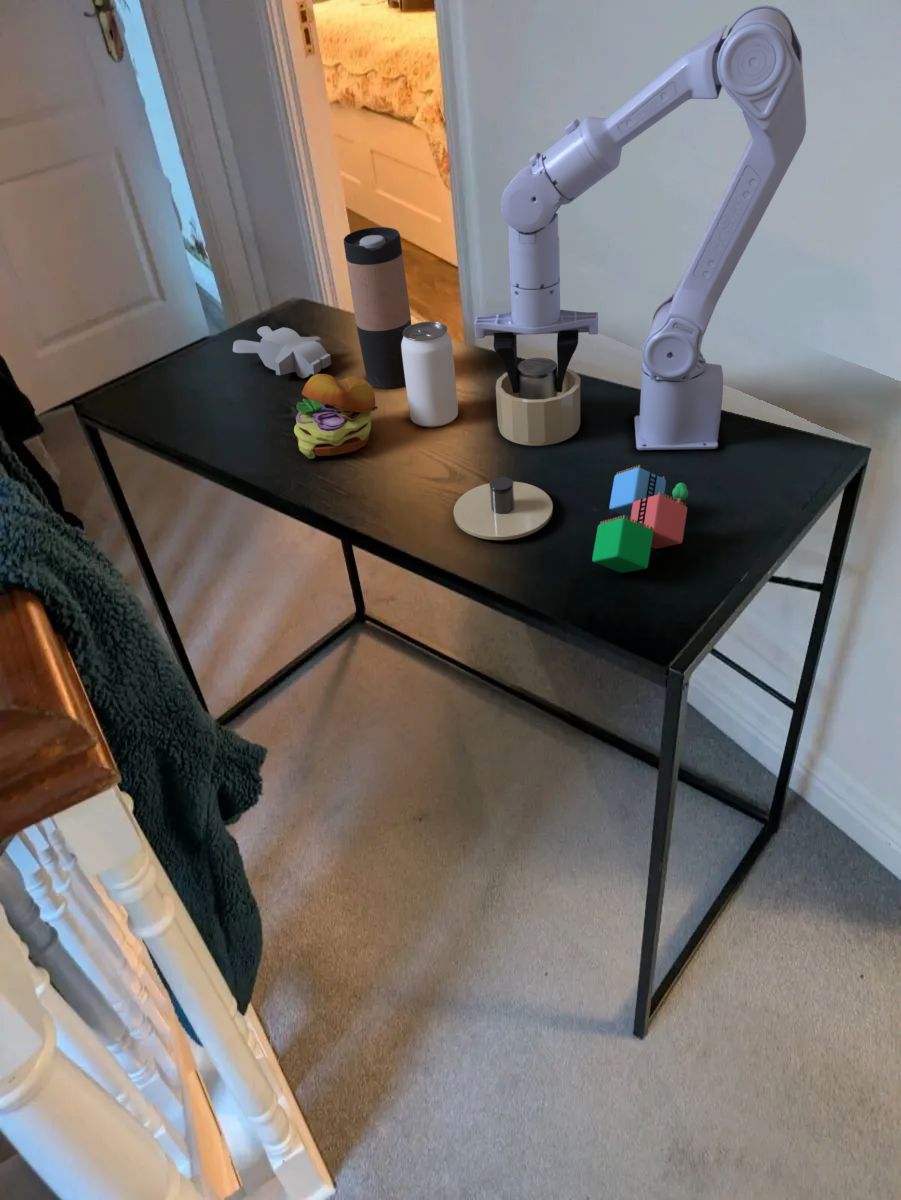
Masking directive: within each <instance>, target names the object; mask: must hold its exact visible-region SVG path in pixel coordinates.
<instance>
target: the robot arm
mask: <svg viewBox="0 0 901 1200" xmlns="http://www.w3.org/2000/svg"><path fill="white" fill-rule="evenodd" d="M727 27H728V24H726V25H724V26H721V28H719V29H717V30H715V31H714V32H712V33H710V34H709V35H708V36H706V37H705V38H703V39H702V40H701V41H698V42H697V43H696V44H695V45H693V46H691V47H690V48H689V49H687V50H686V51H684V52H683V53H682V54H681V55H679V56H678V58H676V59H675V60H674V61H673V62H672V63H671V64H669V65H668V66H666V68H665V69H663V71H661V72H660V73H659V74H657V75H656V76H655V77H654V78H653V79H652V80H650V81H649V82H648V83H647V84H645V86H643V88H641V89H640V90H639V91H638V92H636V93H635V94H634V95H633V96H632V97H631V98H630V99H628V100H627V101H626V102H625V103H624V104H622V105H621V106H620V107H619V108H618V109H617V110H616V111H614V112H612V114H611V115H609V116H608V117H596V116H587V117H585V118H584V119H583V120H582V121H581V122H580V121H579V120H578V118H574V120H572V121H571V122H569V124H567V125H566V127H565V128H564V132H565V134H564V135H563V137H561V138H560V139H559V140H557V141H556V142H555V143H554V144H553V145H551V146H550V147H548V149H547V150H545V151H544V152H543V153H540V152H538V151H537V152H536V153H534V154H533V155H532V156H531V157H530V158H529V160H528V161H529V163H530V164H528V165H526V166H524V167H523V168H521V169H520V170H519V171H518V172H517V174H515V176H513V178H512V179H511V180H510V182H509V183H508V184H507V185H506V186H505V188H504V190H503V192H502V195H501V198H500V210H501V214H502V217H503V219H504V220H505V222H506V224H507V225H508V242H507V244H508V265H509V266H508V268H509V284H510V309H511V311H509V312H508V311H507V312H503V313H497V314H492V315H484V316H483V315H482V316H475V320H474V335H475V336H474V337H475V339H484V338H485V337H492V336H493V349H494V351H495V353H496V355H497V356H498V358H499V359H500V361H501V363H502V365H503V367H504V369H505V371H506V372H507V374H508V376H509V379H510V382H511V386H512V391H513V393H518V392H519V388H518V372H517V366H518V364H519V363H518V345H517V343H518V342H517V336H521V335H523V336H524V335H525V336H526V335H549V334H551V335H553V334H554V335H555V334H557V338H556V355H557V357H556V359H557V362H556V363H557V366H558V370H557V384H556V391H557V392H562V388H563V381H564V377H565V373H566V370H567V368H568V367H569V364H570V363H571V360H572V357H573V355H574V354H575V352H576V350H577V347H578V345H579V333H581V334H582V333H587V334H588V335H598V334H599V312H598V311H594V312H591V311H576V310H567V309H561V264H560V263H561V261H560V237H559V236H560V235H559V213H557V212H558V210H559V209H560V208H561V206H563V205H564V206H565V205H569V204H571V203H573V201H575V200H576V199H578V198H579V197H581V195H583V194H584V193H585V192H587V191H588V190H589V189H590V188H591V187H593V186H595V185H596V184H597V183H599V182H601V180H603V179H604V178H605V177H606V176H608V175H609V174H611V173H612V172H613V171H615V170H616V169H617V168H618V167H619V165H620V162H621V156H622V150H623V148H624V147H625V146H626V145H627V144H629V143H630V142H631V141H633V140H634V139H636V138H637V137H638V136H640V135H641V134H643V133H644V132H645V131H646V130H648V129H650V128H651V127H652V126H653V125H655V124H656V123H658V122H659V121H661V120H662V119H663V118H665V117H666V116H668V115H669V114H671V113H672V112H673V111H675V110H676V109H677V108H680V106H682V105H683V104H684V103H686V102H687V101H689V100H717V99H719V96H720V93H721V91H722V89H723V90H724V91H725V92H726V94H727V95H728V96H729V97H730V98H731V99H732V100H733V101H734V102H735V103H736V105H737V106H738V107H739V108H740V109H741V110H742V115H743V117H744V120H745V123H746V126H747V127H748V131H749V133H750V139H749V141H748V143H747V145H746V147H745V149H744V151H743V154H742V155H741V158H740V159H739V162H738V163H737V166H736V168H735V170H734V172H733V174H732V176H731V177H730V179H729V182H728V184H727V186H726V188H725V190H724V192H723V194H722V196H721V199H720V200H719V202H718V205H717V206H716V209H715V211H714V212H713V215H712V216H711V219H710V221H709V223H708V225H707V227H706V229H705V231H704V233H703V235H702V237H701V238H700V241H699V243H698V245H697V248H696V249H695V252H694V253H693V256H692V257H691V259H690V262H689V264H688V265H687V268H686V269H685V272H684V274H683V276H682V277H681V278H680V280H679V282H678V283H677V285H676V287H675V289H674V292H673V293H672V294H671V296H670V297H668V298H667V299H666V300H665V301H663V302H662V303H660V305H659V306H658V307H657V308H656V310H655V312H654V313H653V317H652V322H651V327H650V330H649V332H648V336H647V337H646V339H645V340H644V343H643V346H642V348H641V349H642V350H641V358H642V361H641V362H642V363H641V381H640V399H639V415H635V416H634V431H635V432H634V434H635V448H636V450H638V451H669V450H671V451H675V450H676V451H678V450H717V449H718V447H719V443H718V441H719V432H720V424H721V416H722V415H721V414H722V407H723V406H722V405H723V394H724V373H723V367H722V365H721V364H719V363H718V364H717V363H709V362H706V360H707V359H706V358H704V355H703V353H702V351H701V347H702V345H703V344H702V343H703V339H704V335H705V333H706V331H707V328H708V326H709V324H710V321H711V318H712V317H713V314H714V311H715V309H716V307H717V304H718V302H719V299H720V298H721V296H722V295H723V292H724V290H725V288H726V287H727V285H728V283H729V281H730V279H731V277H732V275H733V273H734V271H735V270H736V268H737V266H738V264H739V262H740V260H741V258H742V256H743V254H744V252H745V251H746V248H747V247H748V245H749V243H750V241H751V239H752V238H753V236H754V233H755V232H756V230H757V228H758V227H759V225H760V222H761V221H762V219H763V217H764V215H765V213H766V211H767V209H768V207H769V206H770V204H771V201H772V200H773V198H774V196H775V194H776V192H777V190H778V188H779V187H780V184H781V183H782V181H783V179H784V178H785V175H786V173H787V171H788V170H789V168H790V166H791V164H792V162H793V161H794V158H795V156H796V155H797V153H798V151H799V149H800V147H801V145H802V143H803V142H804V138H805V135H806V132H807V110H806V98H805V97H806V95H805V83H804V82H805V81H804V67H803V66H804V65H803V49H802V45H801V43H800V40H799V38H798V35H797V33H796V30H795V29H794V26H793V24H792V21H791V20H790V19H789V17H788V15H786V13H785V12H784V11H783V10H781V9H780V8H778V7H776V6H773V5H767V4H765V5H764V4H763V5H758V6H753V7H751V8H749V9H747V10H745V11H744V12H742V13H741V14H740V15H739V16H738V17H737V18H736V19H735V20H734V21H733V23H732V25H730V28H729V30H728V32H727V34H726V37H724V35H725V31H726V29H727Z"/></svg>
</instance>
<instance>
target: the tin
mask: <svg viewBox="0 0 901 1200" xmlns="http://www.w3.org/2000/svg"><path fill="white" fill-rule="evenodd" d="M517 364H518V366H517V372H518V388H519V398H522V399H528V400H537V399H548V398H552V397H557V391H556V384H557V366H558V362H556V361H555V360H553V359H551V358H548V357H530V358H527V359H524V360H521V361H520V362H519V363H517Z"/></svg>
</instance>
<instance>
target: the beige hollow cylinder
mask: <svg viewBox="0 0 901 1200" xmlns="http://www.w3.org/2000/svg"><path fill="white" fill-rule="evenodd" d="M557 370H558V365H557ZM495 398H496V399H495V400H496V401H495V402H496V415H497V416H496V417H497V428H498V431H499V434H501V436H502V437H503V438H504V439H506V440H508V441H510V442H512V443H515V444H518V445H522V446H530V447H541V446H550V445H555V444H558V443H561V442H564V441H566V440H569V439H570V438H572V437H573V436H575V435H576V434H577V433H578V431H579V430H580V427H581V377H580V375H579V374H578V373H577V372H576V371H575V370H573V369H570V368H568V367H567V370H566V373H565V377H564V381H563V388H562V392H557V397H552V398H548V399H537V400H528V399H522V398H519V392H518V393H513V391H512V386H511V382H510V379H509V376H508V374H507V371H506V372H504V373H503V374H501V376H499V377H498V378H497V379H496V383H495Z"/></svg>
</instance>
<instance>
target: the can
mask: <svg viewBox="0 0 901 1200" xmlns="http://www.w3.org/2000/svg"><path fill="white" fill-rule="evenodd" d="M403 336H404V337H403V339H402V343H401V350H402V359H403V366H404V374H405V382H406V385H405V389H406V397H407V403H408V411H409V417H410V420H411V421H412V423H414V424H416V426H419V427H423V428H440V427H443V426H447V425H449V424H451V423H452V422H454V421H455V420H456V418H457V417H458V415H459V405H458V394H457V381H456V370H455V359H454V358H455V357H454V349H453V341H452V337H451V335H450V334H449V332H448V327H447V325H446V324H444V323H442V322H439V321H421V322H416V323H413V324H411V325H410V326H408V327H407V328H405V329H404V330H403Z"/></svg>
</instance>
